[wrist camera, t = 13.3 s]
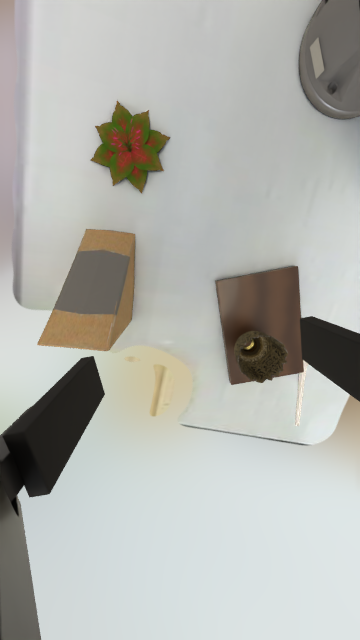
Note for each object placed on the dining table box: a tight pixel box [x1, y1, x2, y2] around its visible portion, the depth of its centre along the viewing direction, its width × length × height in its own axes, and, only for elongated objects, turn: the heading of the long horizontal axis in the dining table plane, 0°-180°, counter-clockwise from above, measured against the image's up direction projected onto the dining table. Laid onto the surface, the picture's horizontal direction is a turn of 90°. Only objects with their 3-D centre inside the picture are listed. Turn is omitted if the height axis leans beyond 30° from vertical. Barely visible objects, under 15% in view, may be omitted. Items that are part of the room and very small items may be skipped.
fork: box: [295, 360, 308, 426], centre depth 44 cm, size 3×20×2 cm, turn 2°
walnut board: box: [215, 266, 304, 385], centre depth 41 cm, size 14×20×2 cm
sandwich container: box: [38, 229, 135, 351], centre depth 31 cm, size 9×15×15 cm, turn 175°
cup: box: [234, 331, 288, 383], centre depth 37 cm, size 8×7×8 cm
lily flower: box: [91, 101, 170, 193], centre depth 32 cm, size 12×12×5 cm
